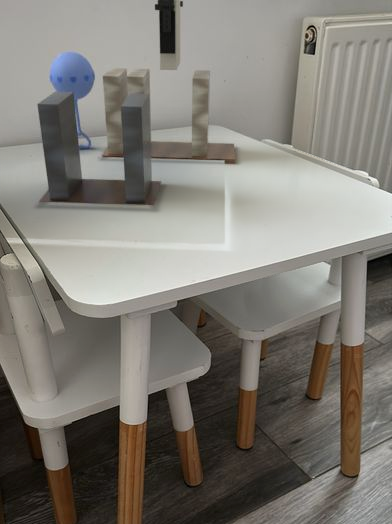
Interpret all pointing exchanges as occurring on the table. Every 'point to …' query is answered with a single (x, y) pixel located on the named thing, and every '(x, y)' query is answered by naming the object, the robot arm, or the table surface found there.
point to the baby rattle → (73, 80)
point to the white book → (174, 59)
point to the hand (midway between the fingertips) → (170, 49)
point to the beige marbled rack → (139, 83)
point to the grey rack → (68, 157)
